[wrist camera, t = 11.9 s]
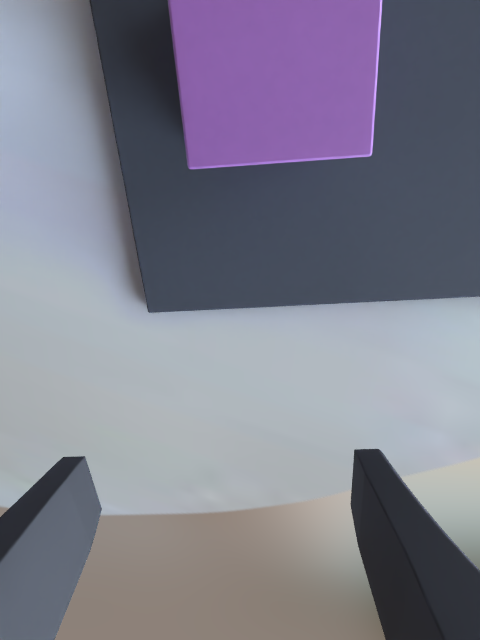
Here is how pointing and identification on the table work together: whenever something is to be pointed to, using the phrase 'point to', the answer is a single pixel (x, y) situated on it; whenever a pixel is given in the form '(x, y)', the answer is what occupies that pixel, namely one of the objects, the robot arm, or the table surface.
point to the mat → (306, 177)
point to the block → (275, 79)
